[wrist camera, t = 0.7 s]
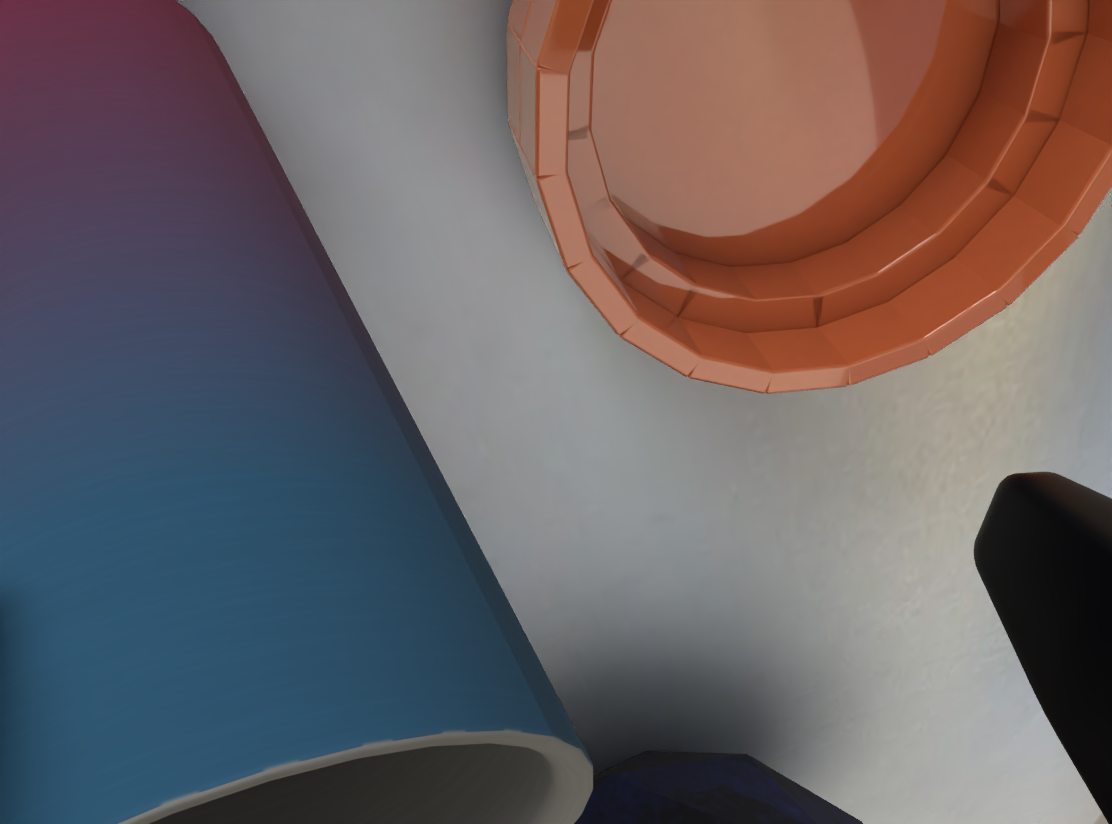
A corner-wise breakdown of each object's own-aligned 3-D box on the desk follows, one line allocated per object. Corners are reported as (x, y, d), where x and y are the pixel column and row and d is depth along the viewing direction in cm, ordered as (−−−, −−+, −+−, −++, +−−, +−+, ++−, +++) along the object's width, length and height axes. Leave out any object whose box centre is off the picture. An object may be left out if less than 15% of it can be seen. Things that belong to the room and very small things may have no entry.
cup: (117, 301, 21) (253, 1050, 12) (-229, 95, 15) (-451, 1191, 6) (349, 105, 20) (692, 775, 11) (63, -191, 14) (279, 665, 5)
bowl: (961, 290, 25) (1054, 369, 21) (505, 324, 23) (533, 416, 19) (1130, -283, 18) (1305, -294, 15) (498, -307, 16) (538, -328, 13)
